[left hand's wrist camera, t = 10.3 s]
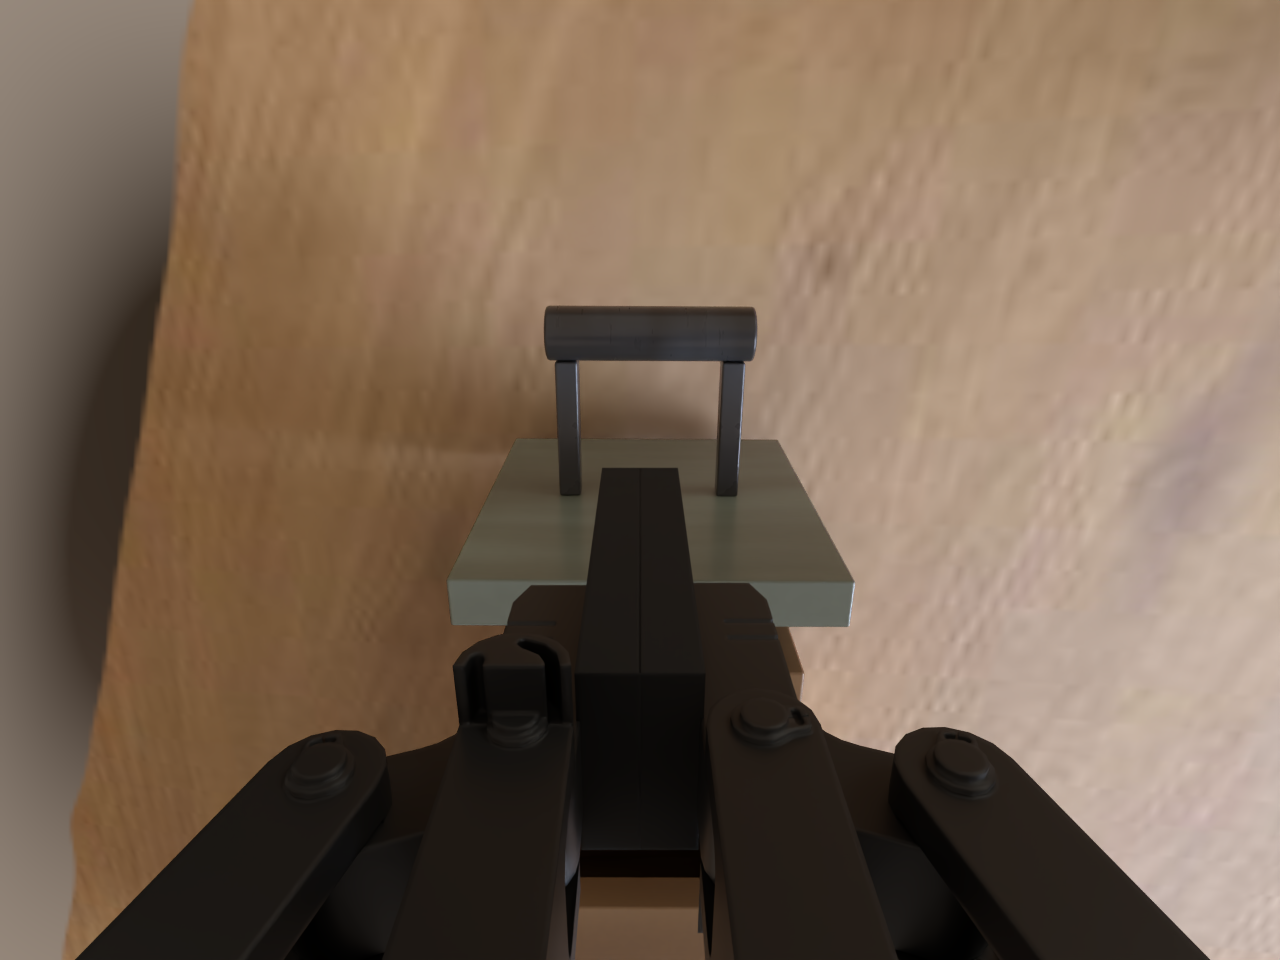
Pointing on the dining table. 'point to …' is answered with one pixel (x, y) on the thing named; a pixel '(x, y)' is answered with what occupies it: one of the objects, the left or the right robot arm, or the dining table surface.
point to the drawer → (711, 494)
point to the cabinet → (639, 919)
